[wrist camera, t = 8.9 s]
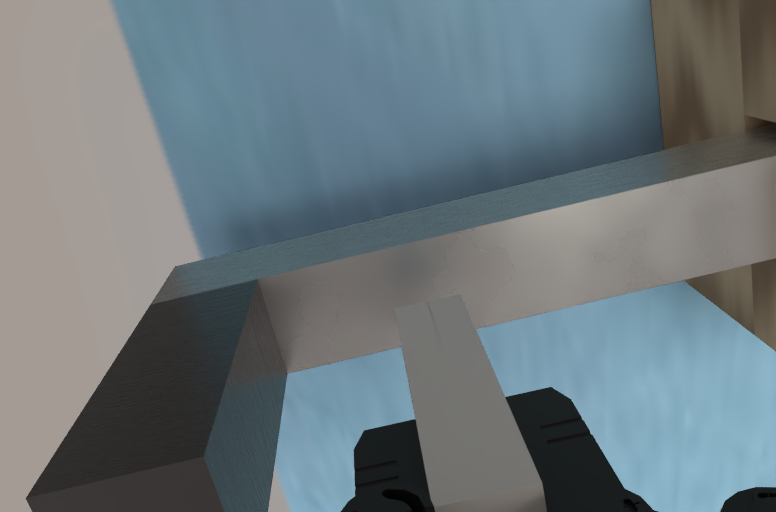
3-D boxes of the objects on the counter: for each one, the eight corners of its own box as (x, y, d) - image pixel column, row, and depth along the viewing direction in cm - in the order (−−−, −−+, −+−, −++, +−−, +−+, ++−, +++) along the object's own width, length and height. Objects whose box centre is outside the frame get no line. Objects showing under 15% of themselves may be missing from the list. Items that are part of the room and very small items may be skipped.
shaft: (174, 266, 22) (25, 498, 11) (958, 79, 21) (1539, 142, 11) (204, 349, 23) (92, 632, 12) (952, 172, 22) (1481, 309, 12)
